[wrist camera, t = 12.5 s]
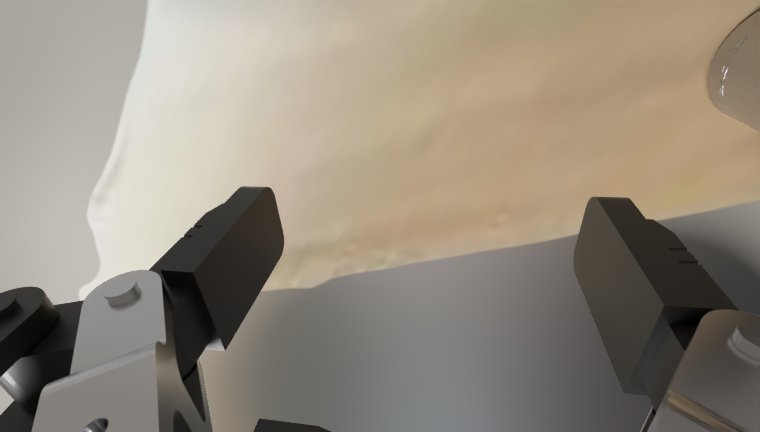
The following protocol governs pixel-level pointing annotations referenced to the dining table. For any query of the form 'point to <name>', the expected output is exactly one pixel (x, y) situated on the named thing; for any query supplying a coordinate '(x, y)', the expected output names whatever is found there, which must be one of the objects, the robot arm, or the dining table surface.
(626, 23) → the dining table surface
